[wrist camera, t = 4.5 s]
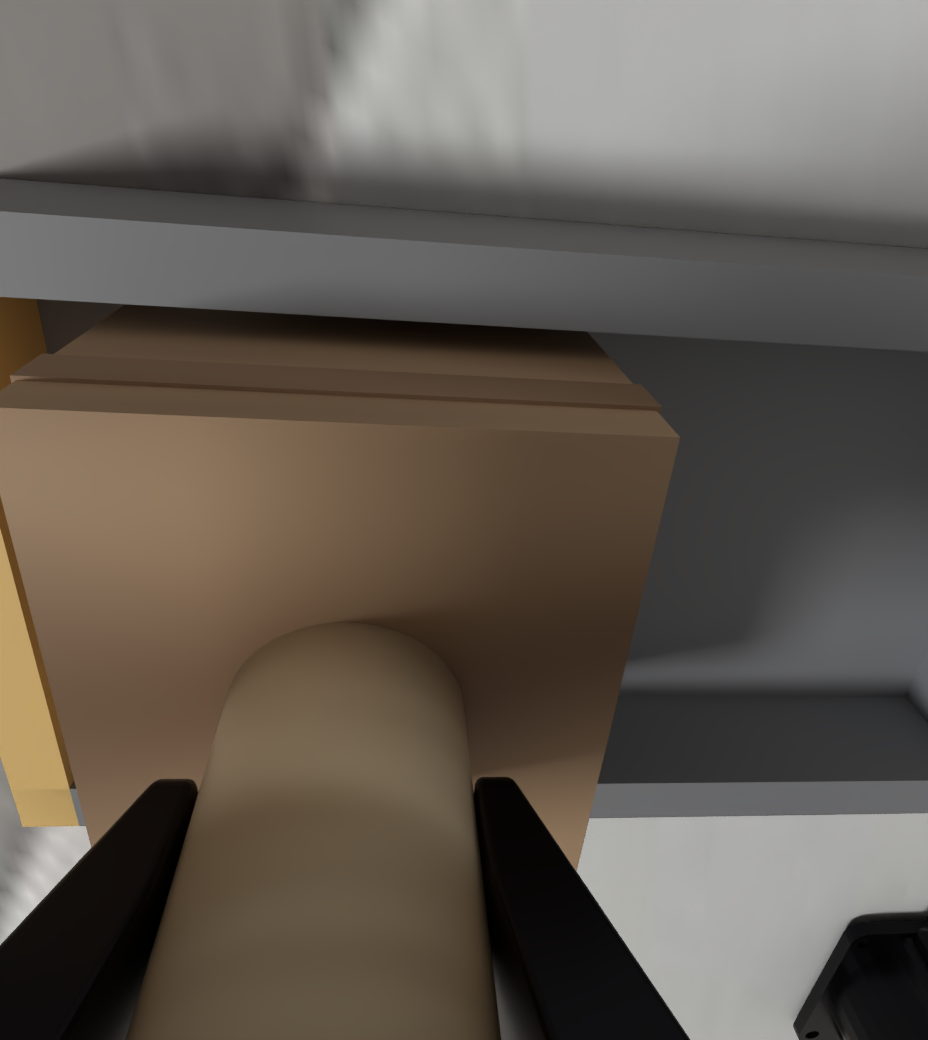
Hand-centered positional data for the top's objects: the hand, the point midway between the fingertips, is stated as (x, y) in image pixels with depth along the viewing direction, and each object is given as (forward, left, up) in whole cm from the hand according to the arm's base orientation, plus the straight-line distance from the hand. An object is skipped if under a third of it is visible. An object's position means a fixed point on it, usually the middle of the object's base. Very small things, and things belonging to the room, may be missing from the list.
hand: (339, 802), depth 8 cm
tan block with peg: (0, 0, -6) cm, 6 cm away
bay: (0, -4, -8) cm, 8 cm away
